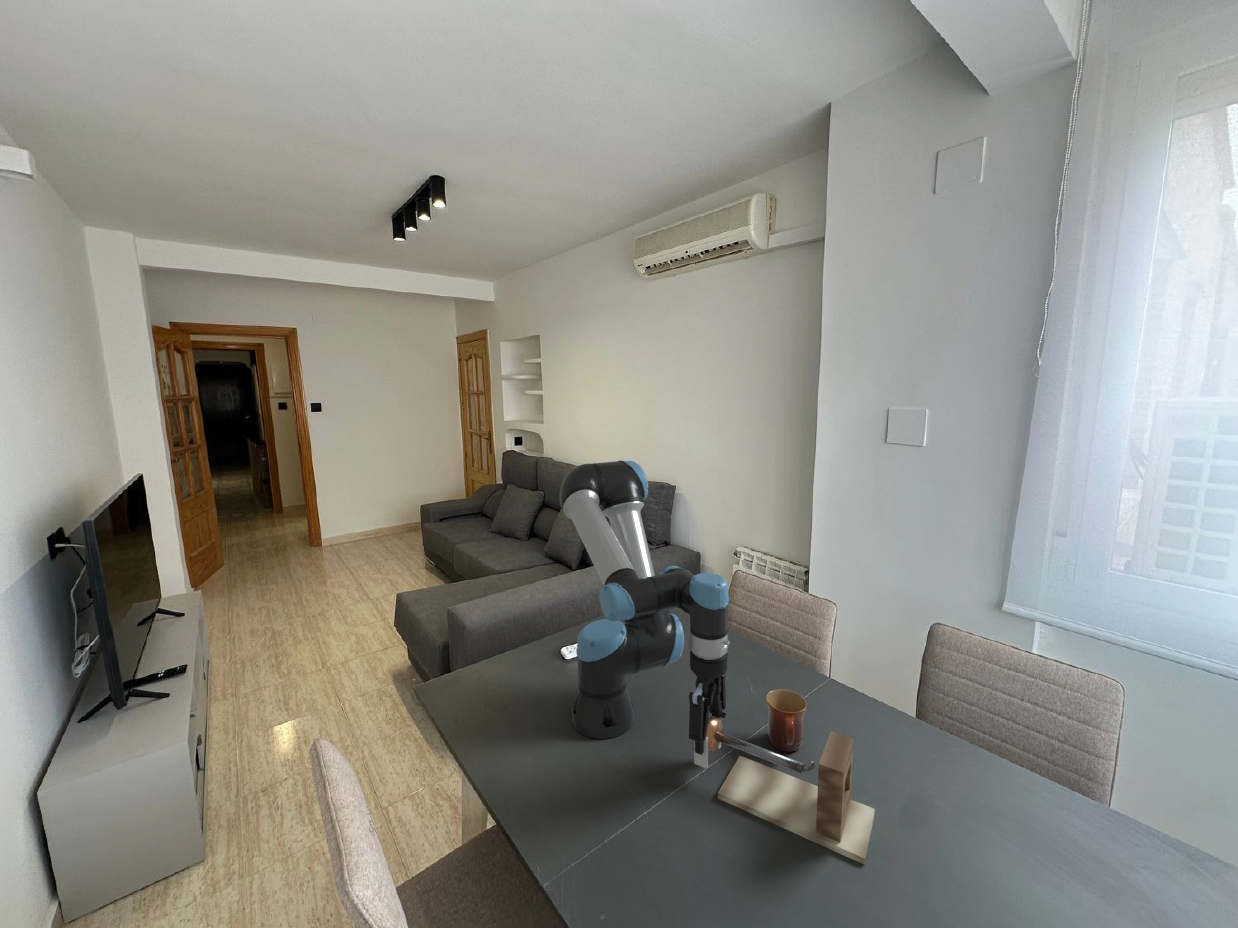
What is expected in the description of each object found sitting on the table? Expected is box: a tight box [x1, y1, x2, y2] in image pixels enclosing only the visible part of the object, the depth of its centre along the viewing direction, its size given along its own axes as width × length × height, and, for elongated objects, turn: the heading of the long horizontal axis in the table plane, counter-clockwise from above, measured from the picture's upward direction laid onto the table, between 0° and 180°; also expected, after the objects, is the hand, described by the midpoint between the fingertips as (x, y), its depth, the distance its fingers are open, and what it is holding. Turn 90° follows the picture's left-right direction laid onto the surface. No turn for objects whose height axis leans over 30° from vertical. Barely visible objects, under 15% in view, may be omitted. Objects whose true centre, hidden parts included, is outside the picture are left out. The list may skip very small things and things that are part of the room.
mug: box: [765, 688, 808, 753], centre depth 111 cm, size 12×9×10 cm
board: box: [717, 755, 876, 866], centre depth 96 cm, size 26×12×1 cm, turn 56°
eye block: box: [816, 730, 855, 842], centre depth 91 cm, size 4×10×13 cm, turn 146°
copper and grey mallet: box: [692, 716, 816, 774], centre depth 100 cm, size 24×6×6 cm, turn 56°
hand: (707, 754), depth 106 cm, fingers closed on copper and grey mallet, 6 cm apart
